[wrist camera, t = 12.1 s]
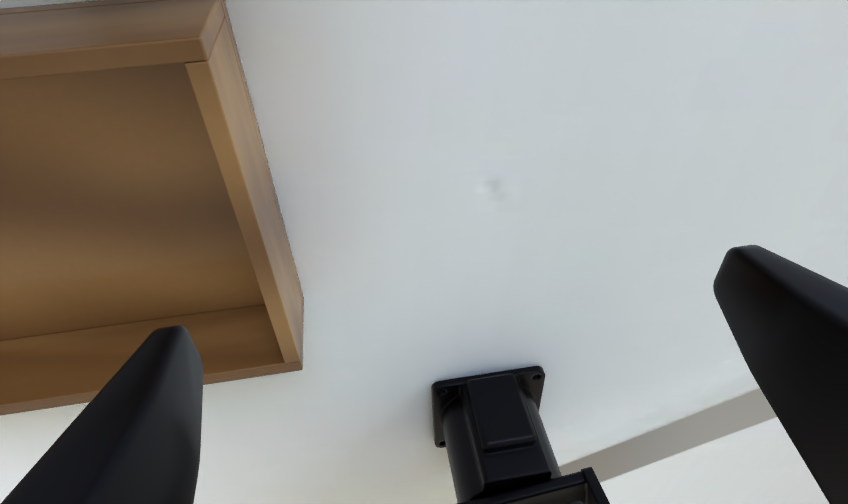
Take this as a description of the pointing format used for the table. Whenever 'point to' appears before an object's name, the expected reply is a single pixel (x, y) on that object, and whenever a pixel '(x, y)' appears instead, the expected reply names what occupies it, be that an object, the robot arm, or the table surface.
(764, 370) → the robot arm
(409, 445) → the table surface
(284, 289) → the wooden box
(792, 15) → the table surface
